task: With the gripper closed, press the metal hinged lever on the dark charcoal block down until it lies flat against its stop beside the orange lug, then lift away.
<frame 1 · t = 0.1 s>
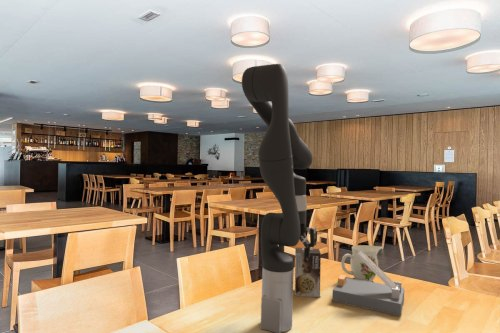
hand: (294, 256, 112), 17 cm above the table, tool pointing down, fingers open, 8 cm apart
pitcher: (361, 280, 141), on the table
coffee box: (306, 293, 125), on the table
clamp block: (368, 299, 121), on the table
lug: (341, 294, 125), resting on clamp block
metal hinged lever: (378, 271, 119), point 11 cm above the table, hinge at 40.0°
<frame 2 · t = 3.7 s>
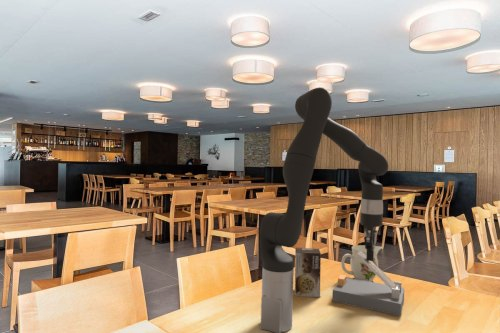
hand: (369, 260, 121), 14 cm above the table, tool pointing down, fingers closed
metal hinged lever: (378, 271, 119), point 11 cm above the table, hinge at 39.5°, touching gripper
everything else where it was.
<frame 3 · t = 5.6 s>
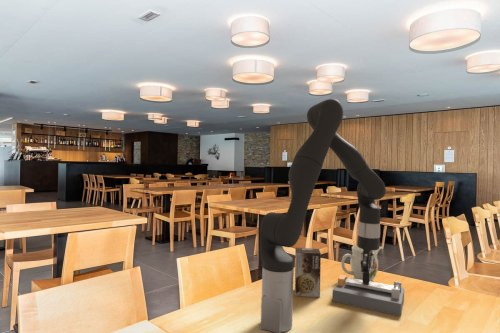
hand: (366, 282, 121), 6 cm above the table, tool pointing down, fingers closed
metal hinged lever: (372, 285, 120), point 5 cm above the table, hinge at -0.5°, touching gripper
everything else where it was.
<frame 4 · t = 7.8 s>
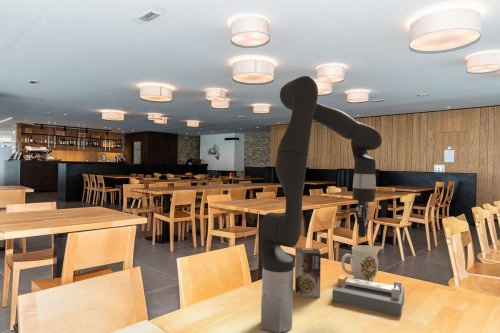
hand: (361, 236, 118), 23 cm above the table, tool pointing down, fingers closed
metal hinged lever: (372, 285, 120), point 5 cm above the table, hinge at -0.5°
everything else where it was.
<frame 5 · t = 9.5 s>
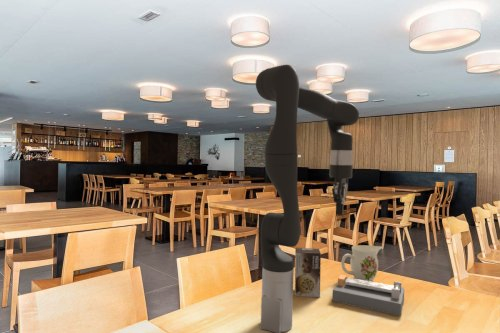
hand: (339, 214, 116), 31 cm above the table, tool pointing down, fingers closed
nothing on the table moved.
at the end: metal hinged lever at +0° (first picture: +40°) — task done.
